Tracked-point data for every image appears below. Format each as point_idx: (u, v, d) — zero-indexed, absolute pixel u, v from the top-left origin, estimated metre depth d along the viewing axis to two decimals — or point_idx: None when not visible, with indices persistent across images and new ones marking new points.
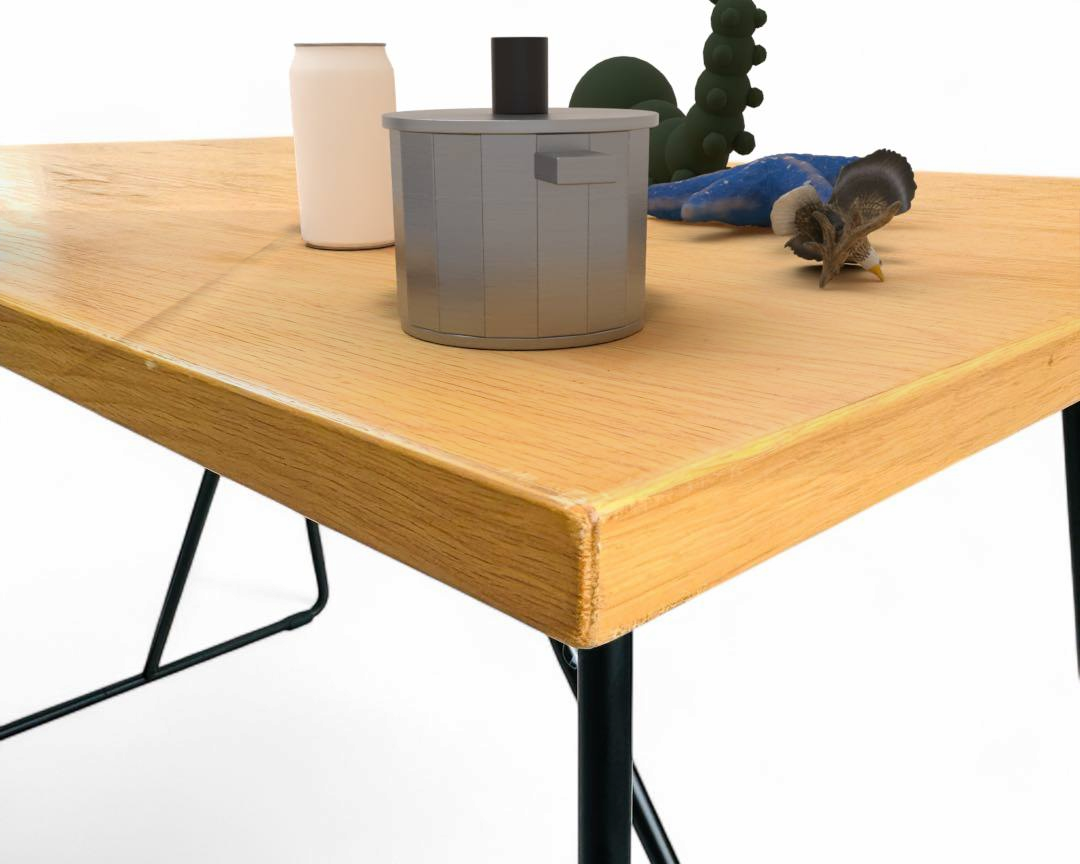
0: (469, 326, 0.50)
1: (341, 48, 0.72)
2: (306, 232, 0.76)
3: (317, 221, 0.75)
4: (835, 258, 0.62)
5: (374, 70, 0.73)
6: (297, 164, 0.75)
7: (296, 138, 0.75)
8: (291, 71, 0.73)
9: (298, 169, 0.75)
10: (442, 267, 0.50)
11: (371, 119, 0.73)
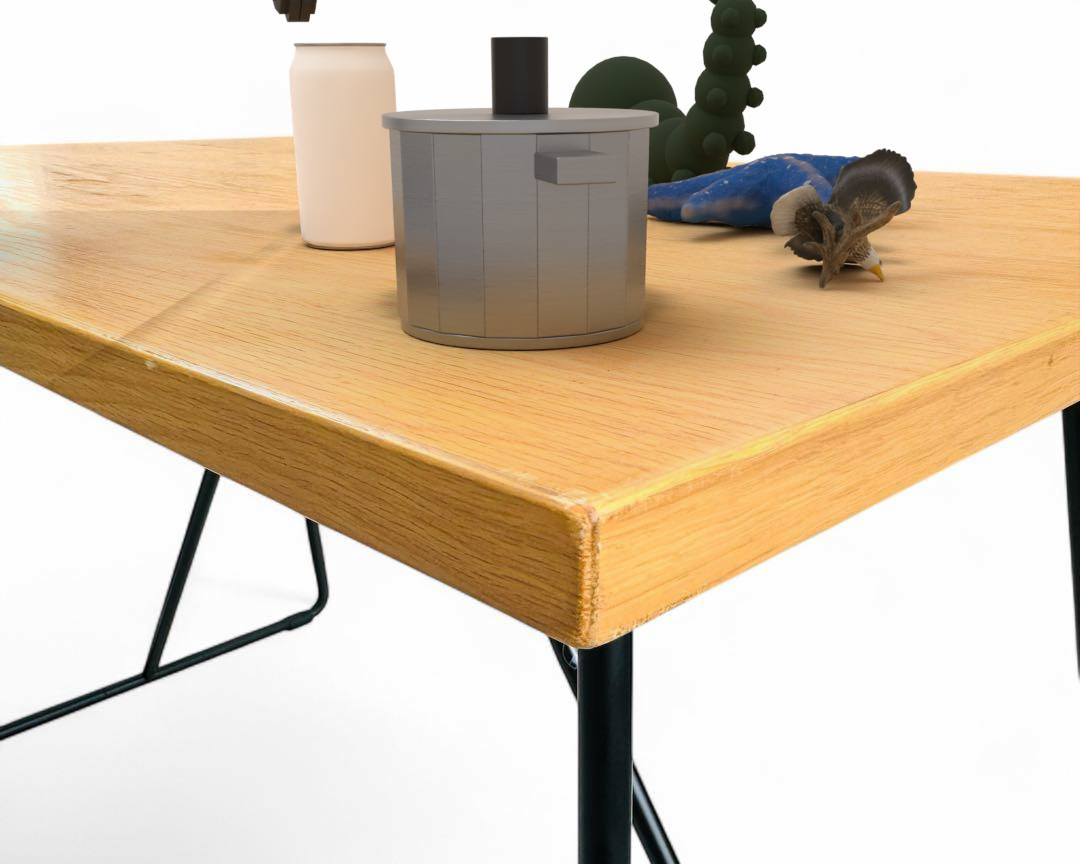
0: (469, 326, 0.50)
1: (341, 48, 0.72)
2: (306, 232, 0.76)
3: (317, 221, 0.75)
4: (835, 258, 0.62)
5: (374, 70, 0.73)
6: (297, 164, 0.75)
7: (296, 138, 0.75)
8: (291, 71, 0.73)
9: (298, 169, 0.75)
10: (442, 267, 0.50)
11: (371, 119, 0.73)
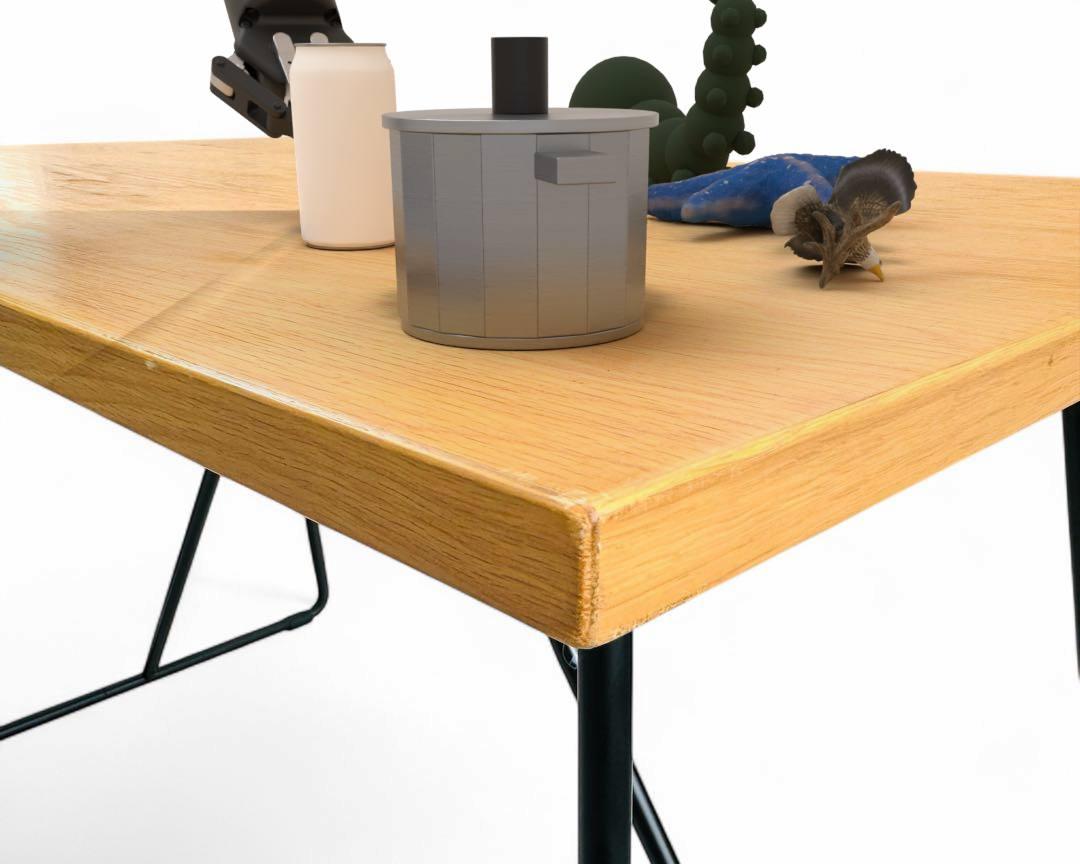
0: (469, 326, 0.50)
1: (341, 48, 0.72)
2: (306, 232, 0.76)
3: (317, 221, 0.75)
4: (835, 258, 0.62)
5: (374, 70, 0.73)
6: (297, 164, 0.75)
7: (296, 138, 0.75)
8: (291, 71, 0.73)
9: (298, 170, 0.75)
10: (442, 267, 0.50)
11: (371, 119, 0.73)
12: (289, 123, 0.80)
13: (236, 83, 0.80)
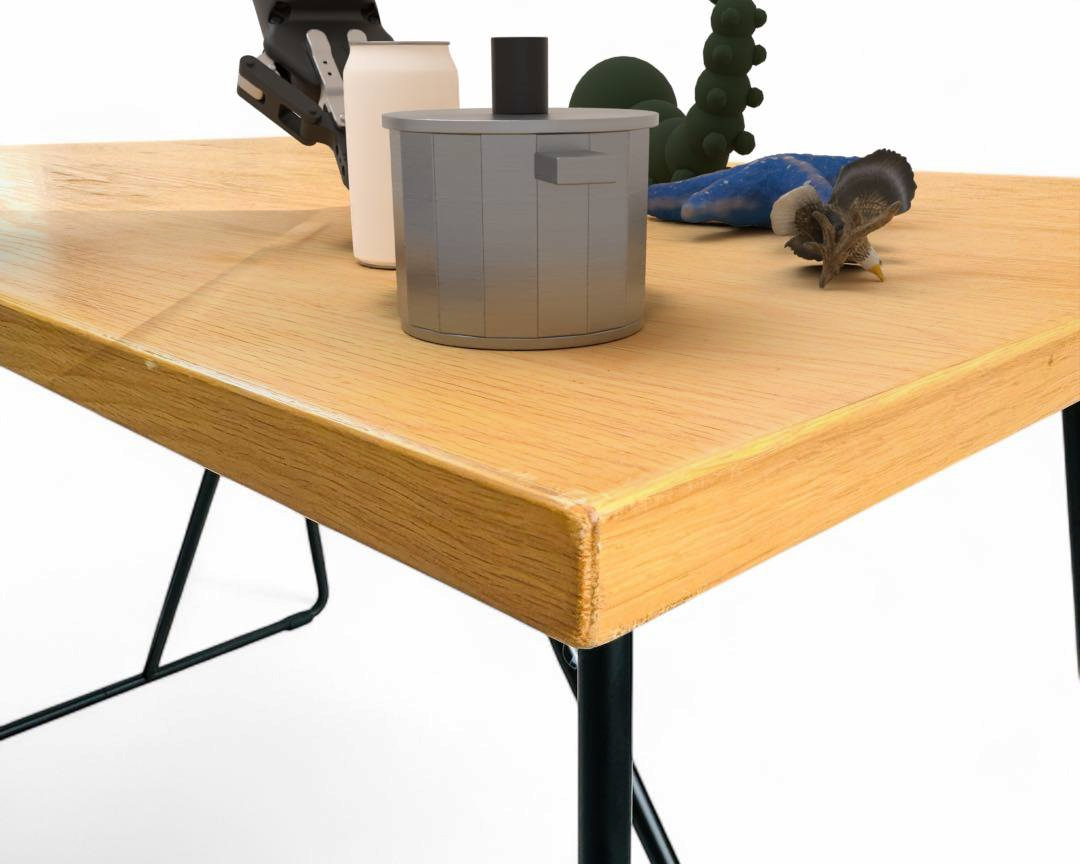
0: (469, 326, 0.50)
1: (418, 47, 0.65)
2: (370, 251, 0.69)
3: (388, 239, 0.68)
4: (835, 258, 0.62)
5: (449, 71, 0.66)
6: (359, 176, 0.68)
7: (360, 147, 0.67)
8: (354, 72, 0.66)
9: (360, 182, 0.68)
10: (442, 267, 0.50)
11: None
12: (325, 129, 0.73)
13: (267, 85, 0.72)
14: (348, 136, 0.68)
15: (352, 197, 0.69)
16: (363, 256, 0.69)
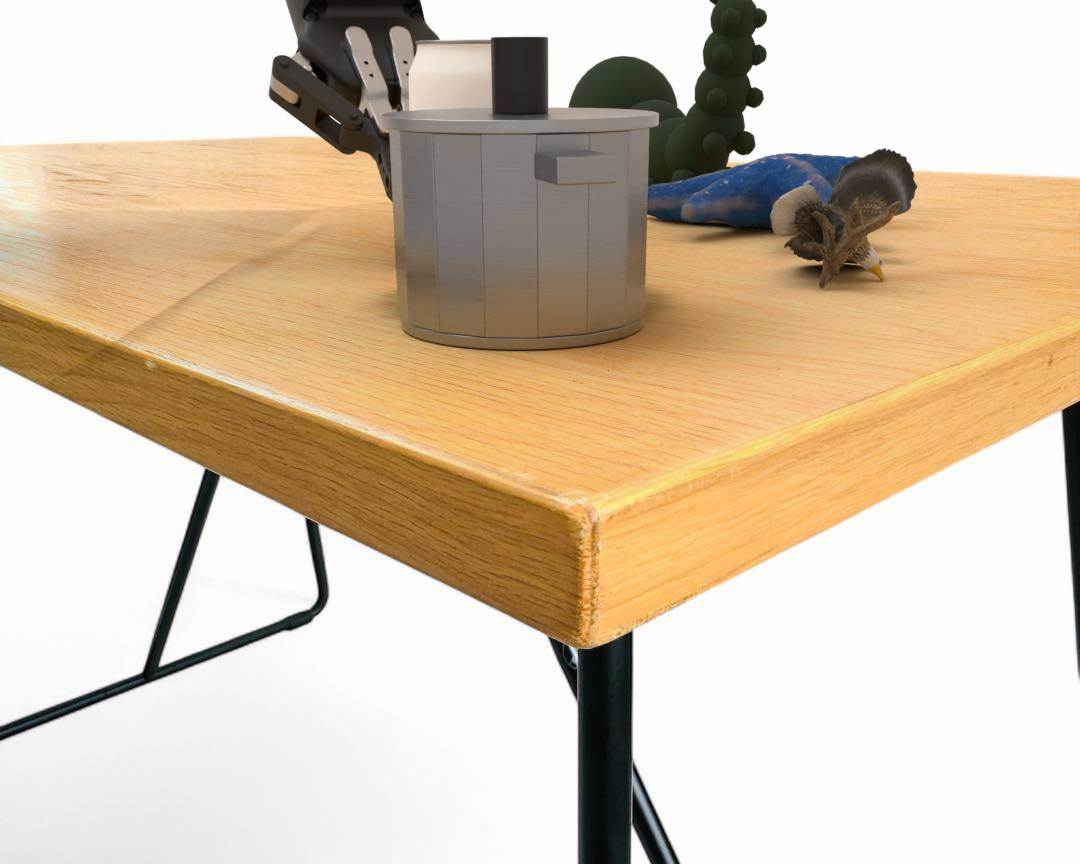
0: (469, 326, 0.50)
1: None
2: None
3: None
4: (835, 258, 0.62)
5: None
6: None
7: None
8: (442, 74, 0.59)
9: None
10: (442, 267, 0.50)
11: None
12: (367, 137, 0.66)
13: (303, 88, 0.66)
14: None
15: None
16: None
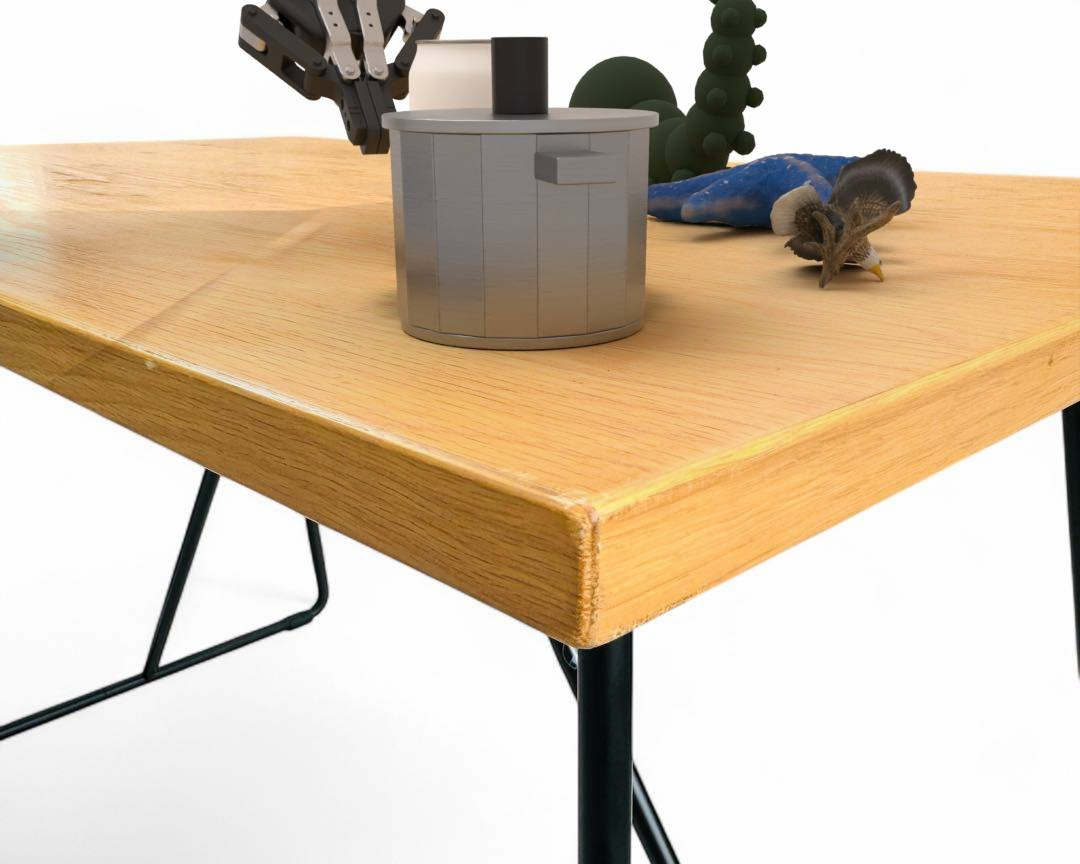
0: (469, 326, 0.50)
1: None
2: None
3: None
4: (835, 258, 0.62)
5: None
6: None
7: None
8: (442, 74, 0.59)
9: None
10: (442, 267, 0.50)
11: None
12: (330, 82, 0.70)
13: (269, 35, 0.69)
14: None
15: None
16: None
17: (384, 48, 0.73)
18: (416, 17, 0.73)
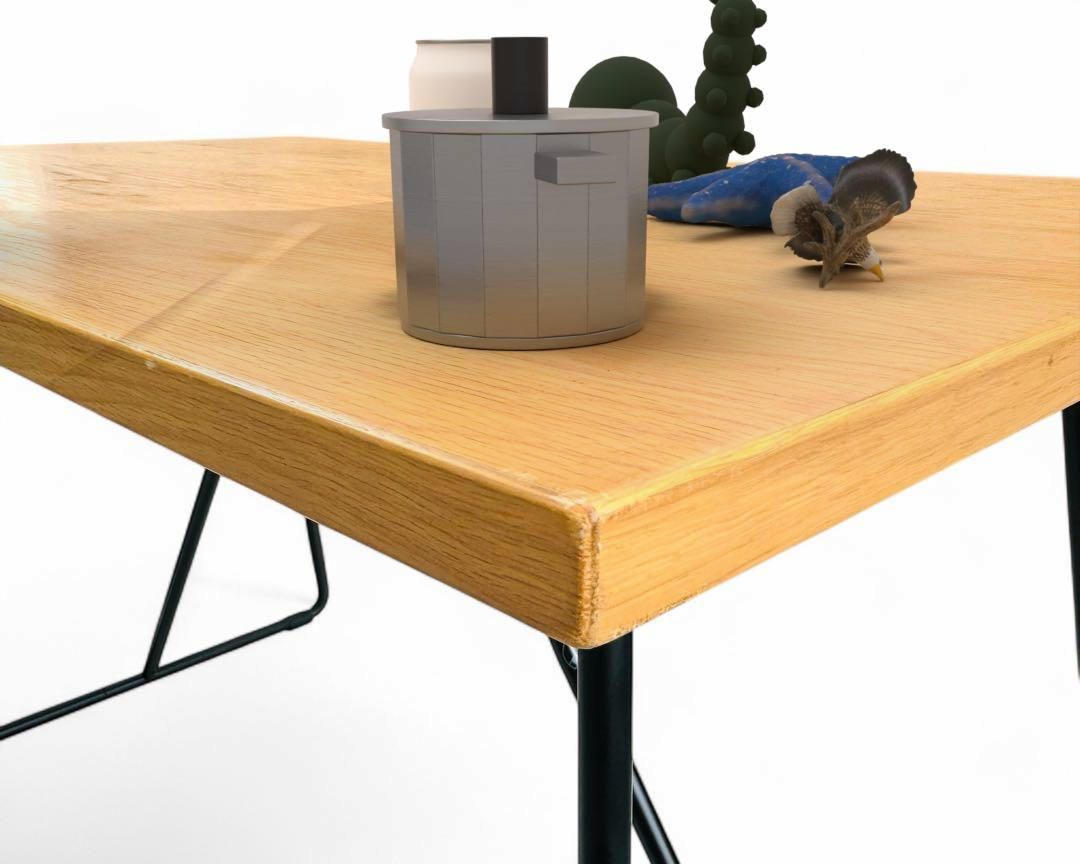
0: (469, 326, 0.50)
1: None
2: None
3: None
4: (835, 258, 0.62)
5: None
6: None
7: None
8: (442, 74, 0.59)
9: None
10: (442, 267, 0.50)
11: None
12: None
13: None
14: None
15: None
16: None
17: None
18: None
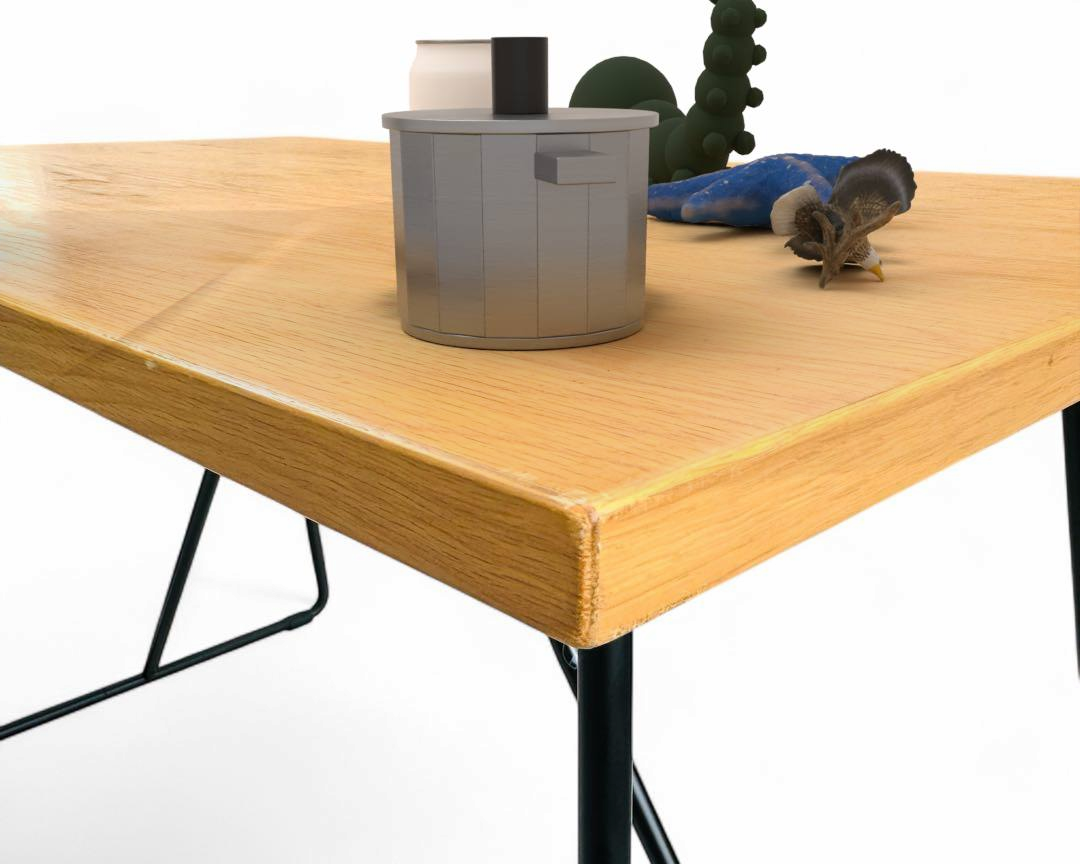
0: (469, 326, 0.50)
1: None
2: None
3: None
4: (835, 258, 0.62)
5: None
6: None
7: None
8: (442, 74, 0.59)
9: None
10: (442, 267, 0.50)
11: None
12: None
13: None
14: None
15: None
16: None
17: None
18: None
